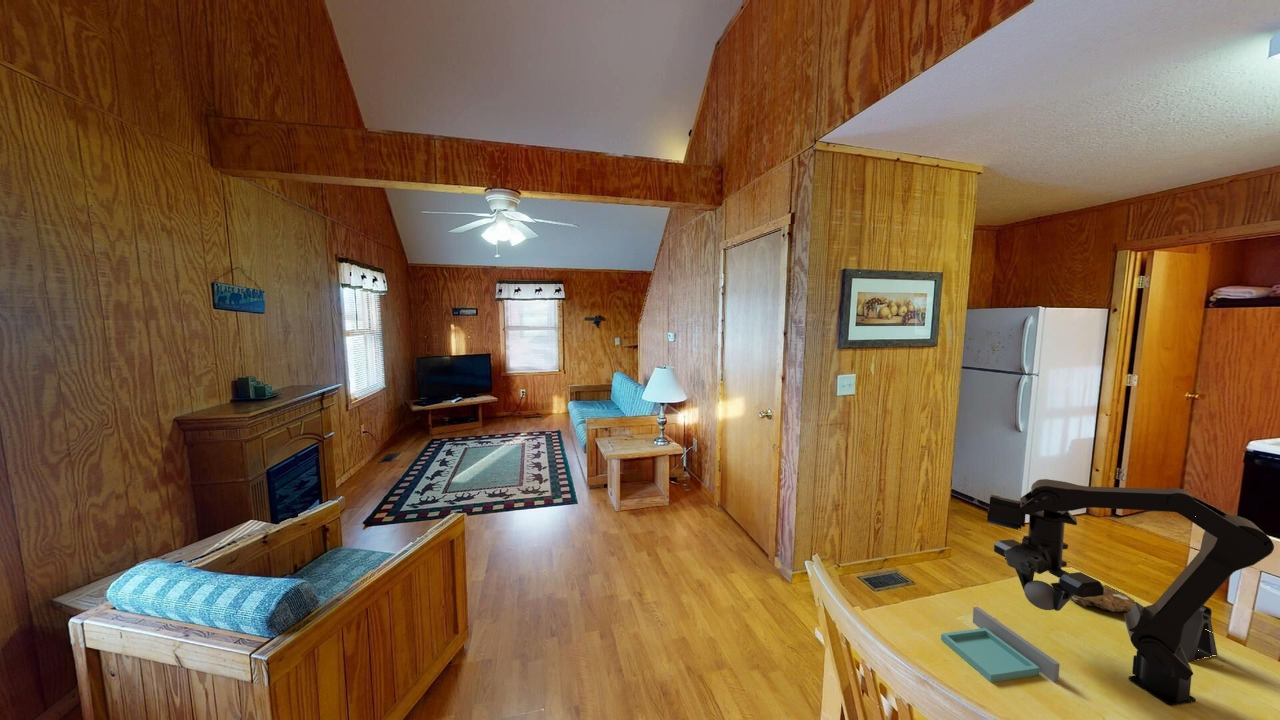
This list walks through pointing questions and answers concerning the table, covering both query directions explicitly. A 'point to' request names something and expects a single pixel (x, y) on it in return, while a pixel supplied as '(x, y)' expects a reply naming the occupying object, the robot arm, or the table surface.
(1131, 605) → the decorative rock
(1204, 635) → the phone stand
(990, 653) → the dish
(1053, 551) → the robot arm
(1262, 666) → the table surface
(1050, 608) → the ball
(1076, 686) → the table surface
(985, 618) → the low wall
